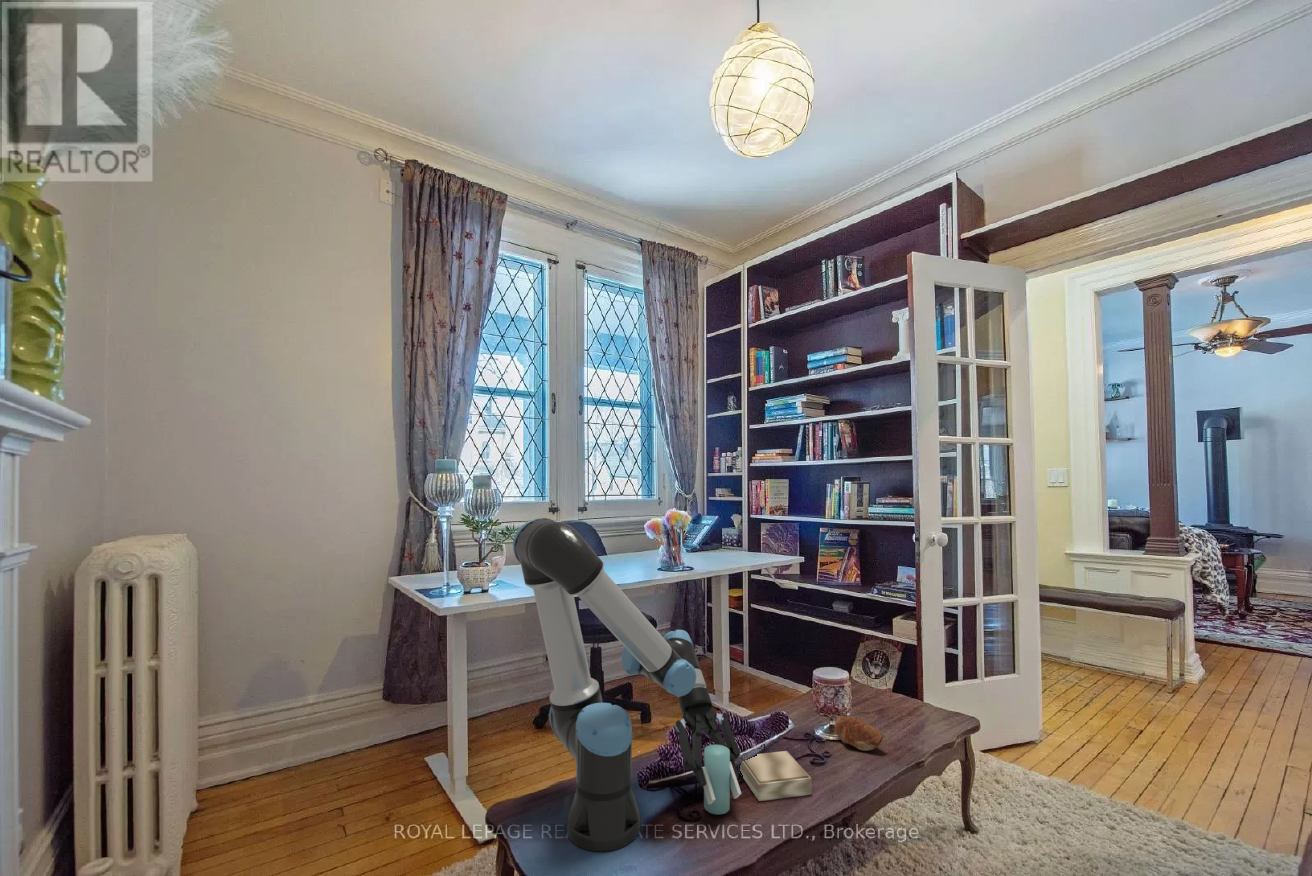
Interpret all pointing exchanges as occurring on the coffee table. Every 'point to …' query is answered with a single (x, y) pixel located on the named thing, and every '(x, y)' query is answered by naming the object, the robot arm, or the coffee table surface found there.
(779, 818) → the coffee table surface
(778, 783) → the block
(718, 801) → the teal pillar
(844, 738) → the bread roll
